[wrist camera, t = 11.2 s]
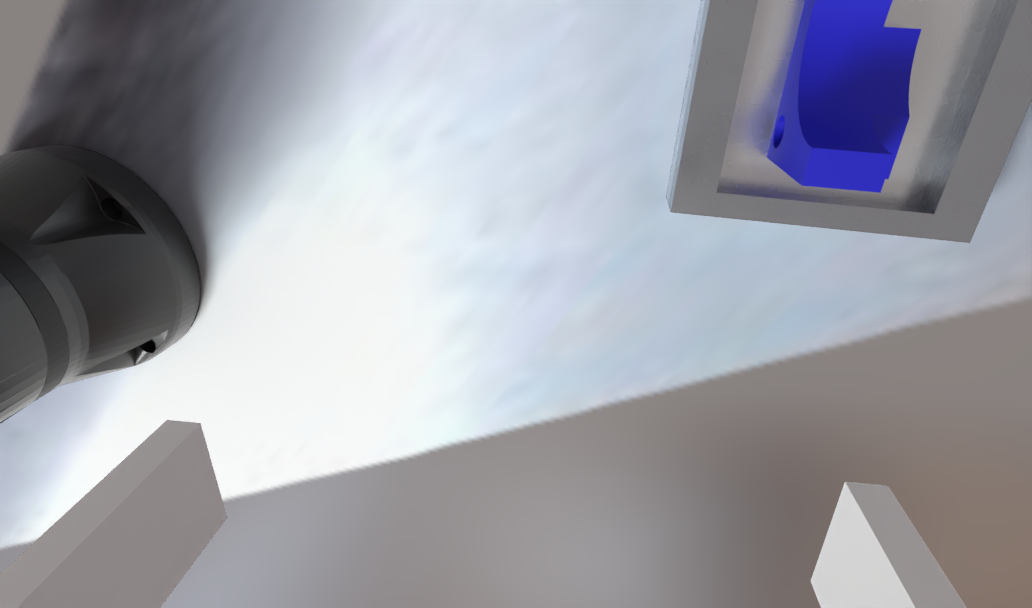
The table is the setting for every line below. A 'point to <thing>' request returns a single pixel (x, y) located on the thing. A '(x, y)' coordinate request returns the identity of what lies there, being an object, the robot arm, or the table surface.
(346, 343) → the table surface
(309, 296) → the table surface
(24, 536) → the table surface
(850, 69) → the cable clip
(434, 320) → the table surface
